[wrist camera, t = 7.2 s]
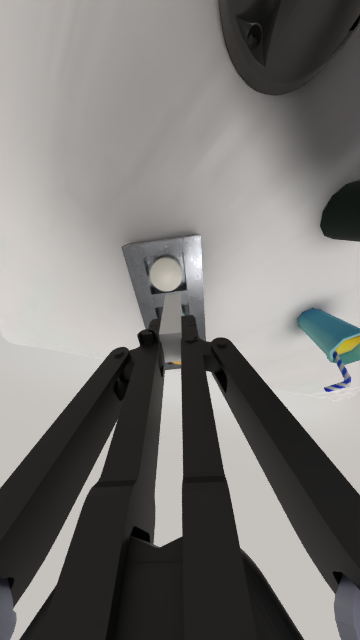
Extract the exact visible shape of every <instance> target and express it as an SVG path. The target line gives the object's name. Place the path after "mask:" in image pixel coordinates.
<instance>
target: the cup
mask: <svg viewBox="0 0 360 640" xmlns="http://www.w3.org/2000/svg"><path fill="white" fill-rule="evenodd" d="M298 325H299V327H300V328H301V329H302V330H303V331H304V332H305V333H306V334H307V335H308V336H309V337H310V338H311V339H312V340H313V341H314V342H315V343H316V345H317V346H318V347H319V348H320V349H321V350H322V351H323V352H324V353H325V354H326V355H327V358H328V359H329V361H330V362H333V363H337V365H338V367H339V369H340V371H341V373H342V375H343V377H344V382H341V383H337V384H334V385H331V386H328V387H325V388H324V389H325V391H326V392H330V391H334V390H337V389H341V388H345V387H348V386H349V385H350V383H351V377H350V375H349V373H348V372H347V370H346V368H345V366H344V365H346V364H349V363H352V362H355V361H358V360H360V328H358V327H355V326H353V325H351V324H349V323H347V322H345V321H343V320H341V319H338V318H336V317H334V316H332V315H330V314H328V313H326V312H324V311H322V310H318V309H315V308H312V309H310V310H307V311H305V312H303V313H302V314H301V316H300V317H299V318H298Z"/></svg>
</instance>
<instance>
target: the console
mask: <svg viewBox="0 0 360 640" xmlns="http://www.w3.org/2000/svg"><path fill="white" fill-rule="evenodd" d="M122 250H123V254H124V257H125V261H126V264H127V267H128V271H129V274H130V277H131V281H132V284H133V288H134V291H135V294H136V298H137V301H138V304H139V308H140V311H141V314H142V318H143V321H144V325H145V328H146V329H148V327H149V324H150V322H151V321H152V320H153V319H160V318H161V315H162V312H163V306H164V300H165V295H170V294H179V293H180V299H181V307H182V309H184V310H185V312H186V314H187V315H193V316H194V317H195V319H196V325H197V330H198V335H199V338H200V339H202V340H204V341H206V336H205V315H204V295H203V275H202V254H201V236H200V235H198V234H194V235H187V236H180V237H173V238H166V239H159V240H152V241H145V242H138V243H131V244H127V245H125V246H123V247H122ZM164 255H169V256H172V257H174V258H176V259H177V260H178V262H179V263H180V265H181V270H182V280H181V283H180V285H179V286H178V287H177V288H176V289H174V290H172V291H161V290H159V289H157V288H156V287H155V286H154V285H153V284H152V282H151V279H150V270H151V268H152V266H153V264H154V262H155V261H156V259H157V258H159V257H160V256H164ZM164 366H165V370H170V369H179V368H181V364H174V363H172V362H166V363H165V359H164Z"/></svg>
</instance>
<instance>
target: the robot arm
mask: <svg viewBox="0 0 360 640" xmlns="http://www.w3.org/2000/svg"><path fill="white" fill-rule="evenodd" d="M219 3H220V14H221V22H222V28H223V33H224V37H225V41H226V45H227V48H228V51H229V54H230V57H231V59H232V61H233V63H234V65H235V67H236V69H237V71H238V72H239V74H240V75H241V76H242V78H243V79H244V80H245V81H246V82H247V83H248V84H249V85H250V86H251V87H253V88H254V89H256V90H258V91H260V92H262V93H265V94H271V95H277V94H284V93H287V92H290V91H293V90H295V89H297V88H299V87H301V86H302V85H304V84H305V83H307V82H308V81H309V80H310V79H312V78H313V77H314V76H315V75H316V74H317V73H318V72H319V71H320V70H321V69H322V68H323V67H324V66H325V65H326V64H327V63H328V62H329V61H330V60H331V59H332V58H333V57H334V56H335V55H336V54H337V52H338V51H339V50H340V49H341V48H342V47H343V46H344V44H345V43H346V42H347V41H348V39H349V38H350V37H351V35H352V34H353V33H354V31H355V30H356V29H357V27H358V26H359V24H360V0H219ZM137 336H138V339H139V342H140V347H138V348H136V349H133V350H130V351H129V350H128V349H127V348H126V347H119V348H116V349H115V350H113V351H112V352H111V353H110V354H109V355H108V356H107V358H106V359H105V360H104V361H103V363H102V364H101V365H100V366H99V368H98V369H97V370H96V371H95V372H94V374H93V375H92V376H91V377H90V379H89V380H88V381H87V382H86V384H85V385H84V386H83V387H82V388H81V390H80V391H79V392H78V393H77V395H76V396H75V397H74V399H73V400H72V401H71V402H70V403H69V404H68V406H67V407H66V408H65V409H64V411H63V412H62V413H61V414H60V415H59V417H58V418H57V419H56V420H55V422H54V423H53V424H52V425H51V427H50V428H49V429H48V430H47V431H46V433H45V434H44V435H43V436H42V438H41V439H40V440H39V441H38V443H37V444H36V445H35V446H34V447H33V449H32V450H31V451H30V453H29V454H28V455H27V456H26V457H25V459H24V460H23V461H22V462H21V464H20V465H19V466H18V467H17V468H16V470H15V471H14V472H13V473H12V475H11V476H10V477H9V478H8V480H7V481H6V482H5V483H4V485H3V486H2V487H1V488H0V640H10V638H11V636H12V634H13V632H14V628H15V624H16V613H15V612H14V611H13V608H14V606H15V605H16V603H17V602H18V600H19V599H20V597H21V596H22V594H23V593H24V592H25V590H26V589H27V587H28V586H29V584H30V583H31V581H32V579H33V578H34V576H35V574H36V573H37V571H38V570H39V568H40V566H41V565H42V563H43V562H44V560H45V558H46V556H47V555H48V553H49V551H50V549H51V547H52V545H53V544H54V542H55V540H56V538H57V536H58V534H59V532H60V530H61V529H62V526H63V525H64V523H65V521H66V519H67V517H68V515H69V513H70V511H71V509H72V507H73V505H74V503H75V501H76V499H77V497H78V495H79V493H80V492H81V490H82V488H83V486H84V484H85V482H86V480H87V478H88V476H89V474H90V472H91V470H92V468H93V466H94V464H95V462H96V460H97V458H98V457H99V454H100V453H101V450H102V449H103V447H104V445H105V443H106V441H107V439H108V437H109V435H110V433H111V431H112V429H113V427H114V425H115V423H116V422H117V424H116V428H115V431H114V434H113V438H112V441H111V445H110V448H109V451H108V455H107V458H106V461H105V465H104V468H103V471H102V474H101V477H100V479H99V481H98V482H97V483H96V484H95V485H94V486H93V487H92V488H91V490H90V491H89V493H88V495H87V497H86V500H85V502H84V505H83V507H82V510H81V513H80V517H79V520H78V523H77V525H76V529H75V531H74V534H73V538H72V541H71V543H70V546H69V549H68V553H67V556H66V559H65V562H64V565H63V568H62V571H61V574H60V577H59V580H58V583H57V585H56V587H55V588H54V590H53V591H52V592H51V594H50V595H49V597H48V599H47V600H46V602H45V603H44V604H43V606H42V608H41V609H40V610H39V612H38V613H37V615H36V616H35V617H34V619H33V620H32V622H31V623H30V625H29V626H28V628H27V629H26V631H25V632H24V634H23V635H22V637H21V638H20V640H304V639H303V637H302V636H301V634H300V632H299V631H298V629H297V628H296V626H295V625H294V623H293V621H292V620H291V618H290V617H289V615H288V614H287V612H286V610H285V609H284V607H283V605H282V604H281V602H280V601H279V599H278V597H277V596H276V594H275V593H274V591H273V590H272V588H271V586H270V585H269V584H268V582H267V580H266V578H265V577H264V575H263V574H262V572H261V571H260V570H259V568H258V567H257V566H256V564H255V563H254V562H253V561H252V559H251V558H250V557H249V556H248V555H247V554H246V553H245V552H244V551H243V550H242V549H241V548H240V546H239V540H238V534H237V530H236V524H235V519H234V514H233V508H232V503H231V498H230V493H229V488H228V484H227V480H226V477H225V474H224V469H223V465H222V459H221V454H220V448H219V442H218V437H217V431H216V425H215V420H214V415H213V409H212V403H211V399H210V393H209V387H208V382H207V376H206V371H209V372H212V375H213V377H214V379H215V380H216V382H217V384H218V386H219V388H220V390H221V392H222V394H223V396H224V397H225V399H226V401H227V403H228V405H229V407H230V409H231V411H232V413H233V414H234V416H235V418H236V420H237V422H238V424H239V426H240V428H241V429H242V432H243V433H244V435H245V437H246V439H247V441H248V443H249V445H250V447H251V449H252V450H253V452H254V454H255V456H256V458H257V460H258V462H259V464H260V466H261V467H262V469H263V471H264V473H265V475H266V477H267V479H268V481H269V483H270V485H271V486H272V488H273V490H274V492H275V494H276V496H277V498H278V500H279V502H280V503H281V505H282V507H283V509H284V511H285V513H286V515H287V517H288V518H289V520H290V522H291V524H292V526H293V528H294V530H295V532H296V533H297V535H298V537H299V539H300V540H301V542H302V544H303V546H304V548H305V549H306V551H307V553H308V554H309V556H310V557H311V559H312V561H313V562H314V564H315V565H316V567H317V568H318V570H319V571H320V573H321V574H322V576H323V578H324V579H325V581H326V582H327V583H328V585H329V586H330V587H331V589H332V590H333V592H334V593H335V594H336V595H335V601H334V611H335V620H336V623H337V627H338V631H339V635H340V637H341V640H360V495H359V494H358V493H357V491H356V490H355V489H354V488H353V487H352V486H351V484H350V483H349V482H348V481H347V480H346V478H345V477H344V476H343V475H342V473H340V471H339V470H338V469H337V468H336V466H335V465H334V464H333V463H332V462H331V460H330V459H329V458H328V457H327V456H326V454H325V453H324V452H323V451H322V450H321V448H320V447H319V446H318V445H317V444H316V442H315V441H314V440H313V439H312V438H311V437H310V435H309V434H308V433H307V432H306V431H305V429H304V428H303V427H302V426H301V425H300V423H299V422H298V421H297V420H296V419H295V417H294V416H293V415H292V414H291V413H290V411H288V409H287V408H286V407H285V406H284V404H283V403H282V402H281V401H280V400H279V399H278V397H277V396H276V395H275V394H274V393H273V391H272V390H271V389H270V388H269V386H268V385H267V384H266V383H265V382H264V380H263V379H262V378H261V377H260V376H259V374H258V373H257V372H256V371H255V370H254V369H253V367H252V366H251V365H250V364H249V363H248V361H247V360H246V359H245V358H244V357H243V355H242V354H241V353H240V352H239V351H238V349H237V348H236V347H235V346H234V345H233V343H232V342H231V341H230V340H228V339H226V338H216V339H214V340H213V341H212V342H207V341H204V340H202V339H200V338H199V335H198V330H197V325H196V319H195V317H194V316H193V315H186V316H182V307H181V299H180V293H179V294H170V295H165V300H164V306H163V312H162V318H160V319H153V320H152V321H151V322H150V324H149V327H148V329H145V330H142V331H141V332H139V333H138V335H137ZM164 359H165V363H166V362H177V361H181V379H182V429H183V483H182V528H183V529H182V530H183V531H182V532H183V536H182V537H180V538H178V539H176V540H174V541H172V542H170V543H168V544H166V545H164V546H162V547H158V546H156V545H153V542H154V529H155V497H154V495H155V480H156V468H157V456H158V445H159V433H160V421H161V409H162V397H163V385H164V373H165V366H164ZM117 420H118V421H117Z"/></svg>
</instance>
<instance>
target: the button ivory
mask: <svg viewBox="0 0 360 640" xmlns="http://www.w3.org/2000/svg"><path fill="white" fill-rule="evenodd" d="M150 279H151V282H152V284H153V285H154V286H155V287H156V288H157V289H159V290H161V291H172V290H174V289H176V288H177V287H178V286H179V285H180V283H181V280H182V270H181V265H180V263H179V262H178V260H177V259H176V258H174V257H172V256H169V255H164V256H160V257H159V258H157V259H156V261H155V262H154V264H153V266H152V268H151V270H150Z"/></svg>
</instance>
